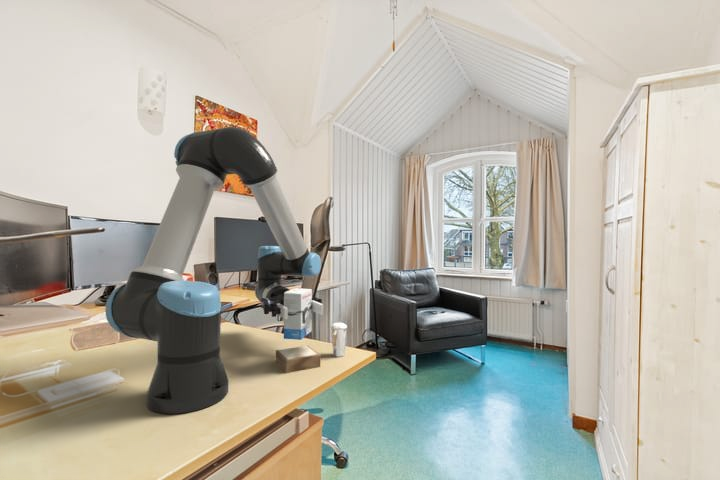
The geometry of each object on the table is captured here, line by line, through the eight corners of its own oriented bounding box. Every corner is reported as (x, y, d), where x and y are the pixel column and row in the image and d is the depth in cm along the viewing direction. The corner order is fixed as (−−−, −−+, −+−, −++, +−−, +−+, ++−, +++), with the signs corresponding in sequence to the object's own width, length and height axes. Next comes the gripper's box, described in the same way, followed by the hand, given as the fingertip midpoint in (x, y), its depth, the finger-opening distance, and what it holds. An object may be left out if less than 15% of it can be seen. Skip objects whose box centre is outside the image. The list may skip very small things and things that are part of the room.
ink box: (301, 340, 86) (301, 293, 86) (282, 339, 87) (282, 292, 87) (312, 331, 95) (312, 288, 95) (295, 330, 96) (295, 287, 96)
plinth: (286, 373, 85) (286, 360, 85) (275, 361, 93) (275, 349, 93) (320, 366, 89) (320, 354, 89) (307, 356, 97) (307, 344, 97)
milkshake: (349, 357, 96) (349, 321, 96) (329, 357, 96) (330, 321, 96) (350, 352, 101) (350, 318, 101) (331, 352, 101) (331, 317, 101)
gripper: (241, 287, 101) (261, 300, 82) (310, 283, 112) (342, 293, 92) (241, 313, 101) (261, 332, 82) (310, 306, 112) (342, 321, 92)
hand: (304, 311), depth 87 cm, fingers closed on ink box, 9 cm apart
